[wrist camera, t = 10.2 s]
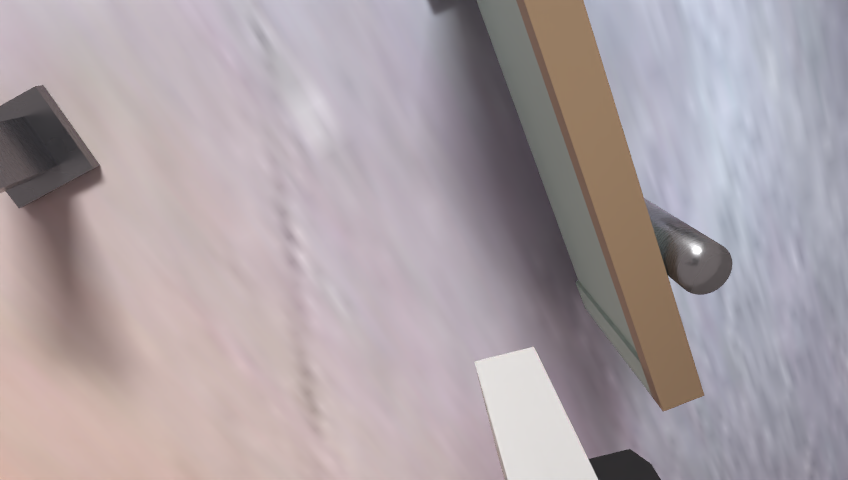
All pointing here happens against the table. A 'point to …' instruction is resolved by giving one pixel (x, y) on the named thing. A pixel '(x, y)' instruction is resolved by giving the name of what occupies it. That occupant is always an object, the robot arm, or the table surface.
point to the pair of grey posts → (70, 158)
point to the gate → (593, 186)
